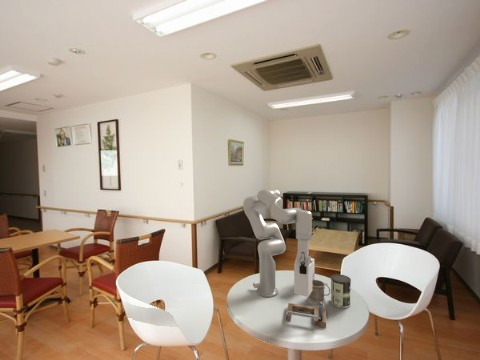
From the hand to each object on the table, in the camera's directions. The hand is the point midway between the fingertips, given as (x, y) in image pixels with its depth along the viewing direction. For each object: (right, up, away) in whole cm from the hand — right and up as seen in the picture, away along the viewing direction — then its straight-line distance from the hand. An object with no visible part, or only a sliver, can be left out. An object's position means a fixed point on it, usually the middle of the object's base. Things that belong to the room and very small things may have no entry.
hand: (303, 269), depth 127 cm
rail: (-1, -25, -3) cm, 25 cm away
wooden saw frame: (+2, -24, +2) cm, 24 cm away
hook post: (+7, -22, -6) cm, 24 cm away
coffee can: (+24, -24, +14) cm, 37 cm away
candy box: (+10, -22, +33) cm, 42 cm away
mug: (+13, -24, +16) cm, 31 cm away
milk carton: (0, -12, +1) cm, 12 cm away
